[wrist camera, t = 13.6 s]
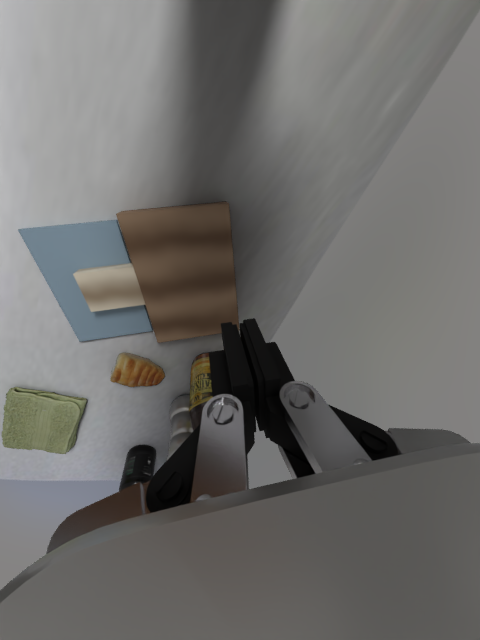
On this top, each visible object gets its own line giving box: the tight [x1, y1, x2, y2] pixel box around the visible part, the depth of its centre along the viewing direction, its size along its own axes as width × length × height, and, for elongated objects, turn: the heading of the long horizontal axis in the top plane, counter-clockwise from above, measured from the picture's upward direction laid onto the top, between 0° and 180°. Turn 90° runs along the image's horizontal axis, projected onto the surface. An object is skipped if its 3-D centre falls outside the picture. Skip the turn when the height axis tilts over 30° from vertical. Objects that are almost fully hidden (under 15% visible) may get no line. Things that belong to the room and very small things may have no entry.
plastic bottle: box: [167, 395, 193, 460], centre depth 43 cm, size 6×7×20 cm
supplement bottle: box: [119, 445, 156, 491], centre depth 54 cm, size 7×7×12 cm
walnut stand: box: [116, 202, 239, 343], centre depth 36 cm, size 20×14×3 cm
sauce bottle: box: [189, 353, 212, 431], centre depth 39 cm, size 7×6×20 cm
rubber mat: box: [18, 220, 153, 342], centre depth 35 cm, size 18×12×1 cm, turn 4°
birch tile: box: [73, 263, 145, 312], centre depth 34 cm, size 6×8×2 cm
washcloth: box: [2, 387, 87, 454], centre depth 46 cm, size 13×18×3 cm
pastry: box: [111, 353, 165, 387], centre depth 44 cm, size 9×7×4 cm
